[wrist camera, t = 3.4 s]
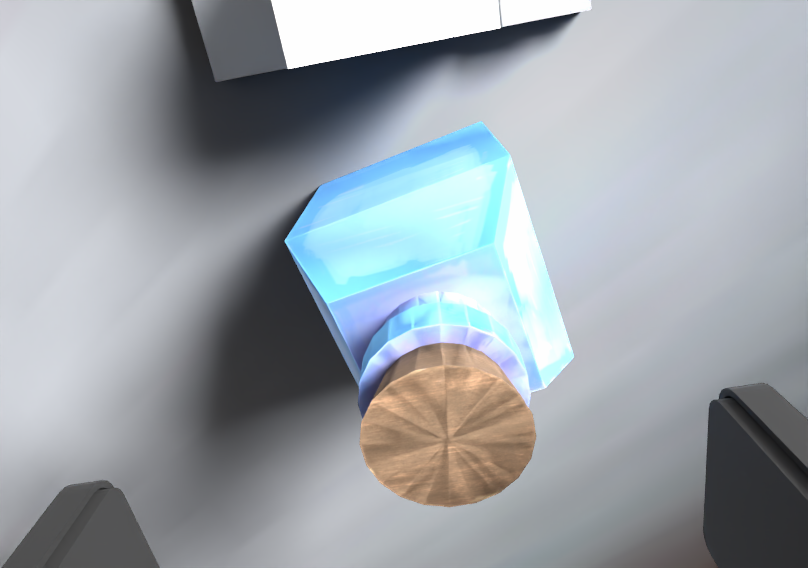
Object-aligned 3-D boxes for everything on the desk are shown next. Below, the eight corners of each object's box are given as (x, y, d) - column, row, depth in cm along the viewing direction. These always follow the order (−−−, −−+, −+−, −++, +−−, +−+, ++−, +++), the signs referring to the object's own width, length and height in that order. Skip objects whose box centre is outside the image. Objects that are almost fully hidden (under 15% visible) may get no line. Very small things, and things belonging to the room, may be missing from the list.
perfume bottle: (481, 121, 19) (571, 226, 8) (531, 273, 22) (655, 515, 11) (320, 185, 20) (211, 355, 9) (384, 325, 23) (358, 593, 12)
